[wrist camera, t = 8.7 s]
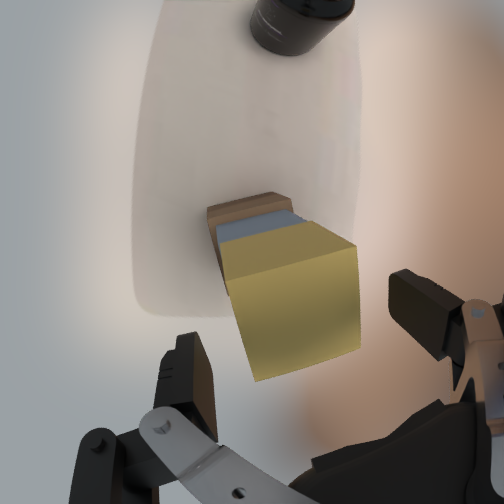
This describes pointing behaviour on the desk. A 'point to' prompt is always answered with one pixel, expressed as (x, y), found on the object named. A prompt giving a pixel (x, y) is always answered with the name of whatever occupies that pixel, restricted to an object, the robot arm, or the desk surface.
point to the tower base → (243, 214)
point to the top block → (293, 297)
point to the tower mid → (256, 225)
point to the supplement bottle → (296, 23)
